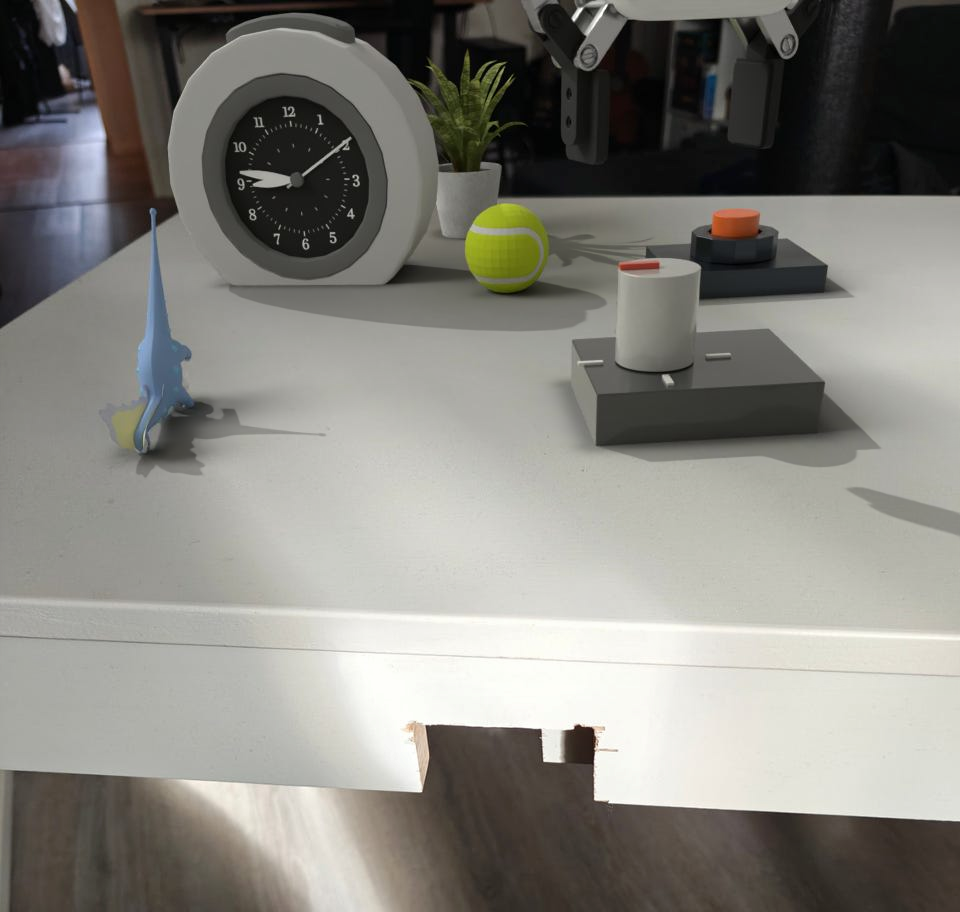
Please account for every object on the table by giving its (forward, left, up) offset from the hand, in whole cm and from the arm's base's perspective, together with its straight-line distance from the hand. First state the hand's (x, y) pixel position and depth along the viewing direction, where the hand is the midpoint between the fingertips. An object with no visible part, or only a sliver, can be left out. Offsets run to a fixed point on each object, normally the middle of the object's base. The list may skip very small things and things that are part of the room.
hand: (670, 153), depth 52 cm
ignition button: (-12, -27, -10) cm, 31 cm away
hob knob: (0, +1, -10) cm, 10 cm away
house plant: (+8, -53, -14) cm, 56 cm away
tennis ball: (+6, -28, -14) cm, 32 cm away
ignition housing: (-12, -27, -14) cm, 33 cm away
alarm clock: (+22, -37, -14) cm, 46 cm away
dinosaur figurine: (+29, -2, -14) cm, 32 cm away
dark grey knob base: (-2, +1, -14) cm, 14 cm away
